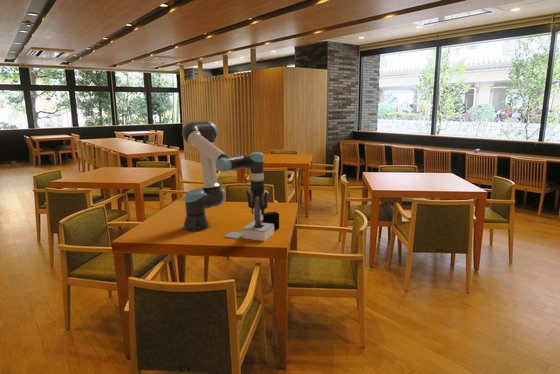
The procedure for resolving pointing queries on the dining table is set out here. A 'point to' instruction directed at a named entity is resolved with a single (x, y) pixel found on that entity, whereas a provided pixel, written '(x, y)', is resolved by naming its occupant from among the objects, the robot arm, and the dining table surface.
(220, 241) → the dining table surface
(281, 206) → the dining table surface
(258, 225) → the stylus
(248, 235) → the box
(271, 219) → the electronic device
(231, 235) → the pad
